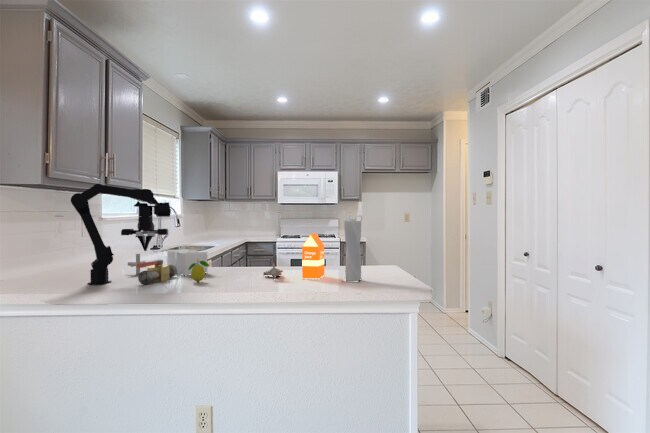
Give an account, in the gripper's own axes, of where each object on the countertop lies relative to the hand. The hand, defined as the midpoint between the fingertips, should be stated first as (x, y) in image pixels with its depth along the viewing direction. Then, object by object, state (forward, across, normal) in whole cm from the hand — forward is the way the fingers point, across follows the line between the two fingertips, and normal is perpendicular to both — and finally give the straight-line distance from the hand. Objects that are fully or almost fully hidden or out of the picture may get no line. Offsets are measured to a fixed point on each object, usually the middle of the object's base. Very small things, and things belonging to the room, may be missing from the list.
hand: (145, 250), depth 162 cm
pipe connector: (+13, +7, -18) cm, 23 cm away
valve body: (+13, -7, +7) cm, 16 cm away
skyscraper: (+12, -88, +36) cm, 96 cm away
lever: (+5, -5, +12) cm, 14 cm away
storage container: (+13, -16, -16) cm, 26 cm away
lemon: (+13, -24, +17) cm, 32 cm away
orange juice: (+12, -74, +24) cm, 78 cm away
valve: (+13, -56, +18) cm, 60 cm away
